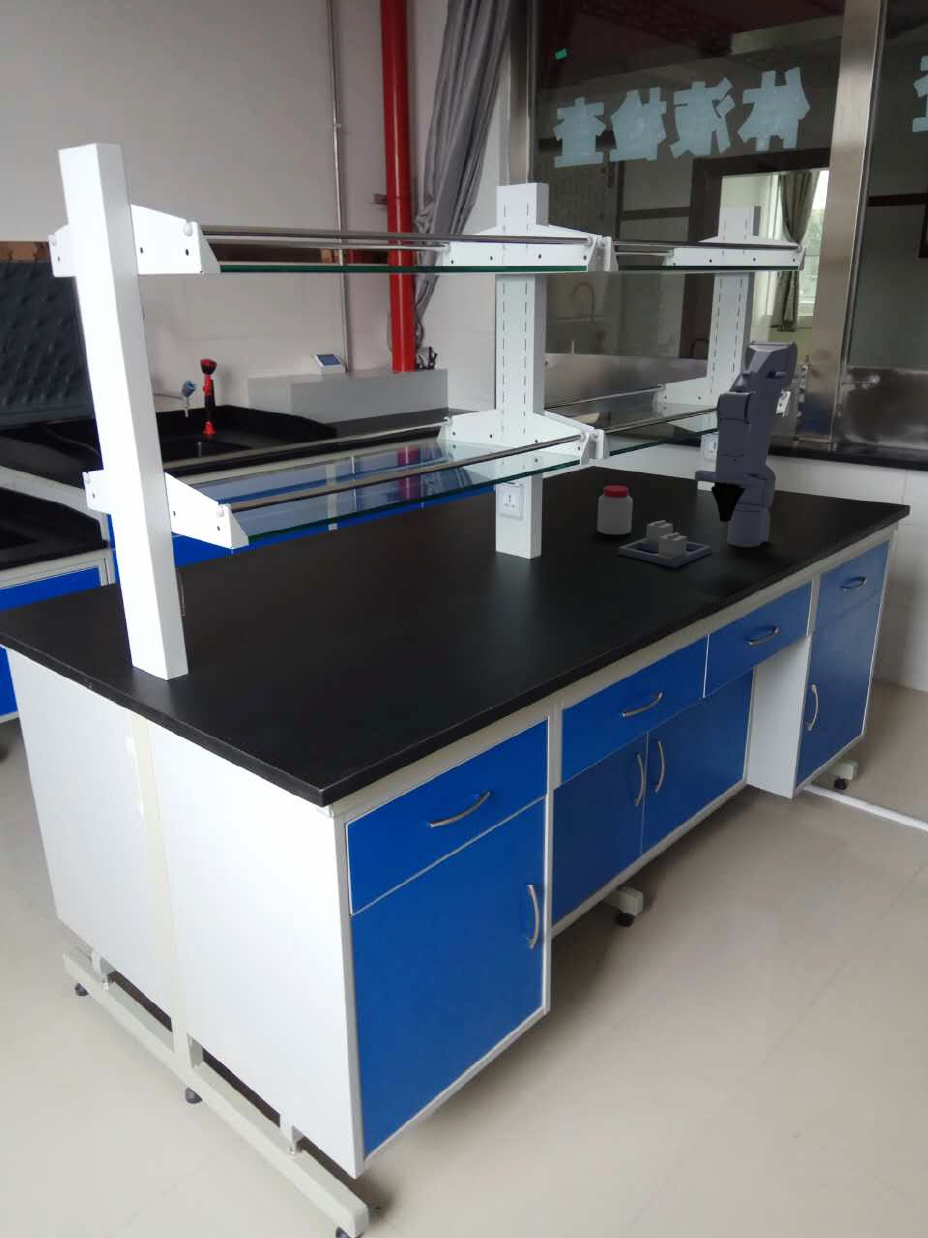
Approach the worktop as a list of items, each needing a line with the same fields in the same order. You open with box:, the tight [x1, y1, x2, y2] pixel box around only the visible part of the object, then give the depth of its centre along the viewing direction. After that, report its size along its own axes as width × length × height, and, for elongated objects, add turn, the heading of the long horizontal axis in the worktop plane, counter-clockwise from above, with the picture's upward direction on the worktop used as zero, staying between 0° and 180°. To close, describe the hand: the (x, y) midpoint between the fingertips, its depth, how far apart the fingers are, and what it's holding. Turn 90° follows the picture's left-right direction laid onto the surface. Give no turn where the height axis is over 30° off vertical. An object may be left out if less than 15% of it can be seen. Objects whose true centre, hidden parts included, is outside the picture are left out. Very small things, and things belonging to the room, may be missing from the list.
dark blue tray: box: [618, 537, 713, 568], centre depth 199 cm, size 14×19×3 cm
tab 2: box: [645, 519, 674, 545], centre depth 201 cm, size 4×4×6 cm
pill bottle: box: [596, 485, 634, 536], centre depth 214 cm, size 8×8×11 cm
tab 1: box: [657, 531, 688, 559], centre depth 192 cm, size 4×4×6 cm
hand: (725, 520), depth 188 cm, fingers closed
